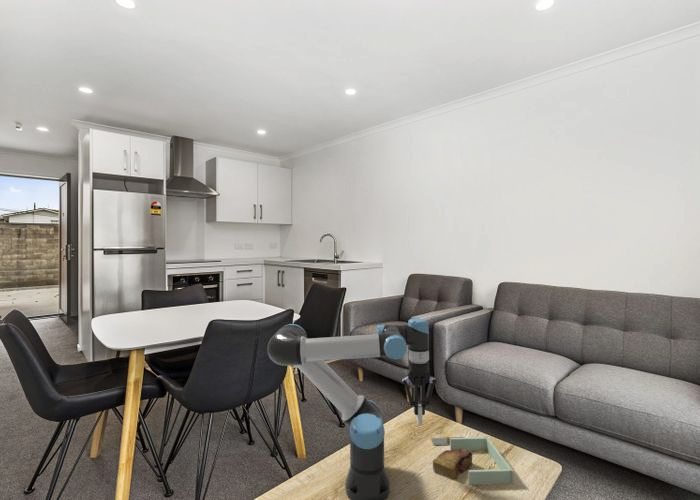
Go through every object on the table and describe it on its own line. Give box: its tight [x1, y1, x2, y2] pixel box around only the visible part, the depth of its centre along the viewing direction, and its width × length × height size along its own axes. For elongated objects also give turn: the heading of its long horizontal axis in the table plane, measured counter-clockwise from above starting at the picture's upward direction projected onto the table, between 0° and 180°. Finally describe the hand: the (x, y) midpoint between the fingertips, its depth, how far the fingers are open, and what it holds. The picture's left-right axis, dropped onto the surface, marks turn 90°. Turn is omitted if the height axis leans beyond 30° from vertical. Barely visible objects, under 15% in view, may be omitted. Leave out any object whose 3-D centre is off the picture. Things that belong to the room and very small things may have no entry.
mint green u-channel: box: [449, 436, 514, 486], centre depth 137 cm, size 16×22×4 cm
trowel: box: [430, 436, 466, 446], centre depth 152 cm, size 14×4×2 cm, turn 91°
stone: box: [432, 449, 473, 480], centre depth 135 cm, size 15×9×5 cm, turn 131°
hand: (419, 423), depth 136 cm, fingers closed
